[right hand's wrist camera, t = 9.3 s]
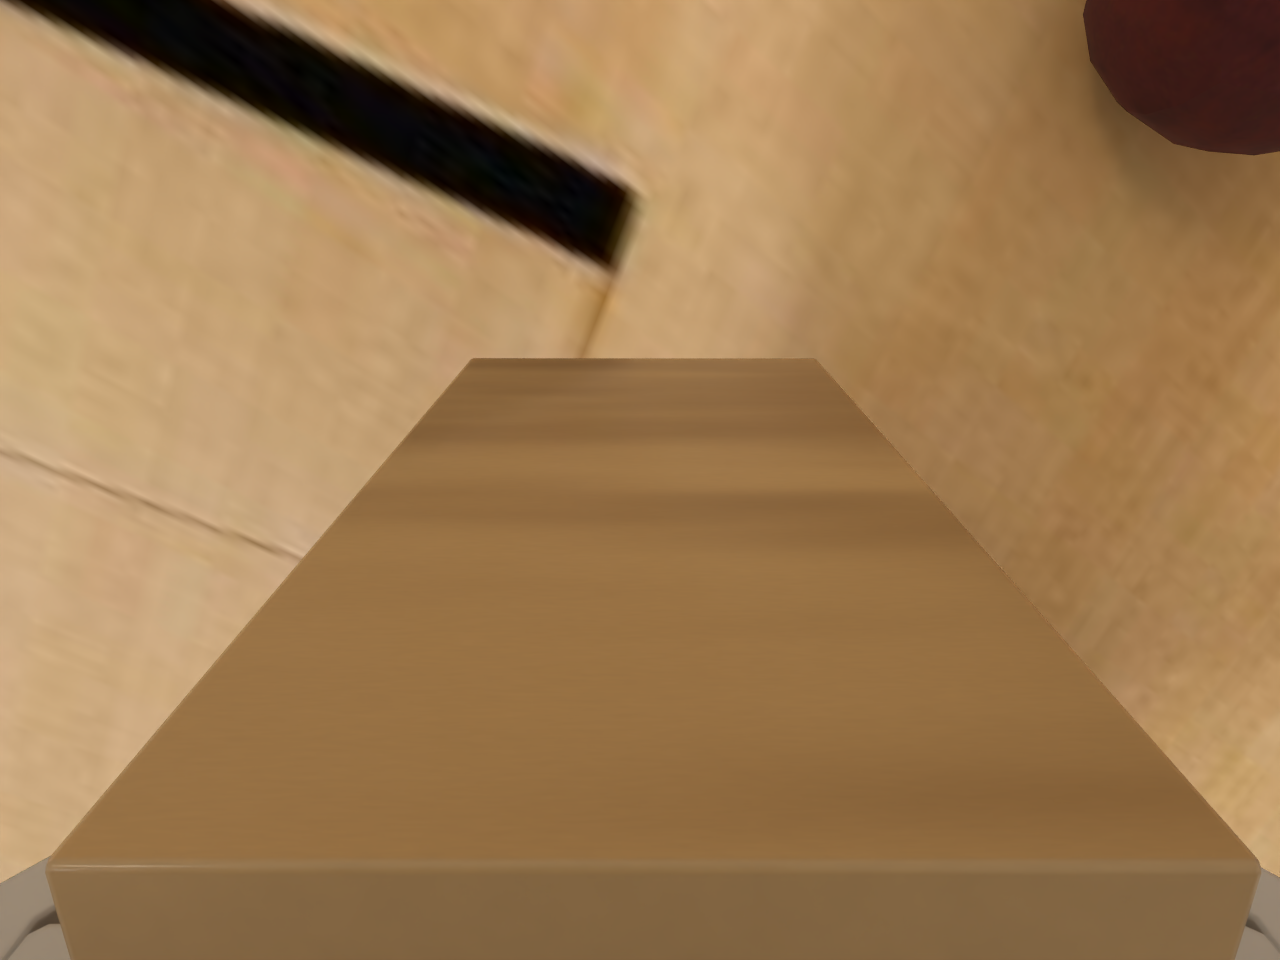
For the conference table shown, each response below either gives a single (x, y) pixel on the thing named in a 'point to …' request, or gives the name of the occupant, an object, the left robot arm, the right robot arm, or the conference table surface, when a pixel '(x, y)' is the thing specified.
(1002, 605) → the box
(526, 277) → the conference table surface
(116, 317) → the conference table surface
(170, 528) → the conference table surface
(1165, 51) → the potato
